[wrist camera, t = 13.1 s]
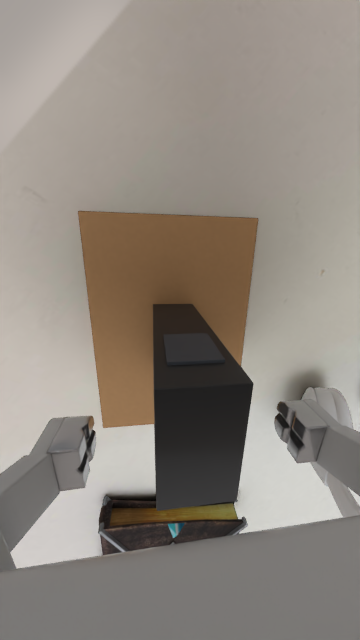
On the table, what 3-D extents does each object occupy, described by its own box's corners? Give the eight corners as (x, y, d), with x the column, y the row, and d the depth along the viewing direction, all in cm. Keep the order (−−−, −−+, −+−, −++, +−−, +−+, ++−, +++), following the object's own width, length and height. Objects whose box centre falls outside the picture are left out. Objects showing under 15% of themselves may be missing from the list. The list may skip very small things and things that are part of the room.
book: (103, 494, 25) (92, 550, 20) (237, 489, 28) (254, 538, 23) (97, 598, 31) (88, 660, 27) (207, 586, 34) (216, 640, 29)
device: (152, 302, 18) (153, 385, 7) (192, 302, 19) (254, 379, 7) (154, 365, 20) (156, 511, 9) (190, 363, 21) (237, 501, 9)
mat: (80, 212, 16) (77, 210, 16) (255, 219, 18) (258, 218, 17) (104, 424, 22) (103, 428, 22) (233, 414, 24) (234, 417, 23)
